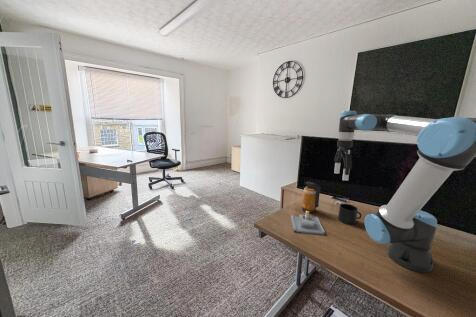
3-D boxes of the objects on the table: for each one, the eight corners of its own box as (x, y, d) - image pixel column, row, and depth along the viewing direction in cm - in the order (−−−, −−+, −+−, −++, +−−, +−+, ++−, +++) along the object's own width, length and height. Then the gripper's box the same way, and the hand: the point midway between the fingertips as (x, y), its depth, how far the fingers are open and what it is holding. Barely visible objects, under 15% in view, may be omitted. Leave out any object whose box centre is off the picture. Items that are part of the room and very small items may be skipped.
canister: (305, 206, 137) (308, 179, 133) (321, 211, 129) (323, 183, 125) (299, 209, 131) (301, 182, 127) (314, 215, 123) (317, 186, 119)
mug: (361, 227, 111) (364, 212, 109) (338, 222, 115) (340, 208, 114) (359, 219, 119) (361, 206, 117) (337, 215, 124) (339, 202, 122)
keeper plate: (324, 234, 103) (326, 220, 101) (293, 231, 105) (294, 217, 103) (317, 219, 118) (318, 206, 116) (290, 217, 121) (291, 204, 119)
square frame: (313, 227, 108) (314, 221, 107) (300, 226, 109) (301, 220, 108) (311, 221, 114) (311, 215, 114) (299, 220, 115) (299, 214, 115)
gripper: (363, 142, 93) (357, 184, 97) (344, 137, 117) (340, 171, 121) (346, 142, 94) (341, 183, 98) (331, 137, 118) (327, 170, 123)
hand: (340, 176), depth 110 cm, fingers open, 13 cm apart
